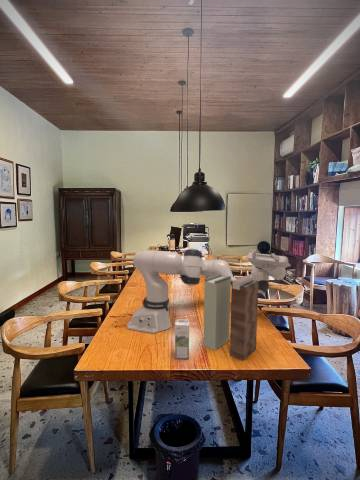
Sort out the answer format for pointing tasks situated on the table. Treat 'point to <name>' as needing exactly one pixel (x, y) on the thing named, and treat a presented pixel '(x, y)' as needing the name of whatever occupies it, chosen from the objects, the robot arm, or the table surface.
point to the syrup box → (181, 339)
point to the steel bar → (247, 280)
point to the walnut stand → (243, 321)
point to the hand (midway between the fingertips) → (262, 253)
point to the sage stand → (216, 311)
